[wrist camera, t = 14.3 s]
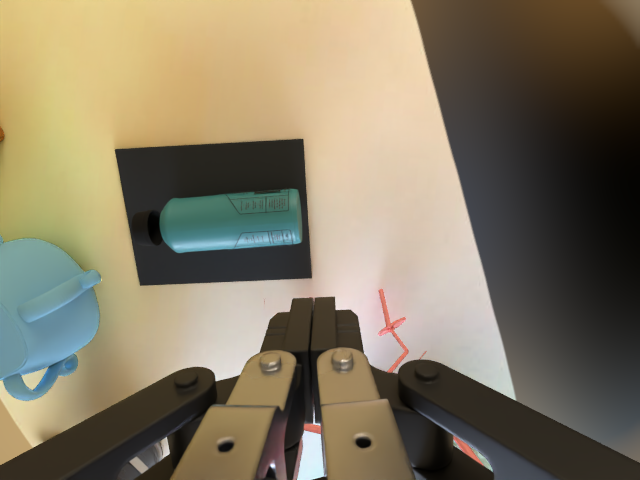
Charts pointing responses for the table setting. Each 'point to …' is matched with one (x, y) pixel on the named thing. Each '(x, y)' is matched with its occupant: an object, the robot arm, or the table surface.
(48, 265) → the decorative pot
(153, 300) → the table surface
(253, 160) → the mat
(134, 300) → the table surface
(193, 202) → the beverage bottle
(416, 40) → the table surface
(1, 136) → the coffee package
